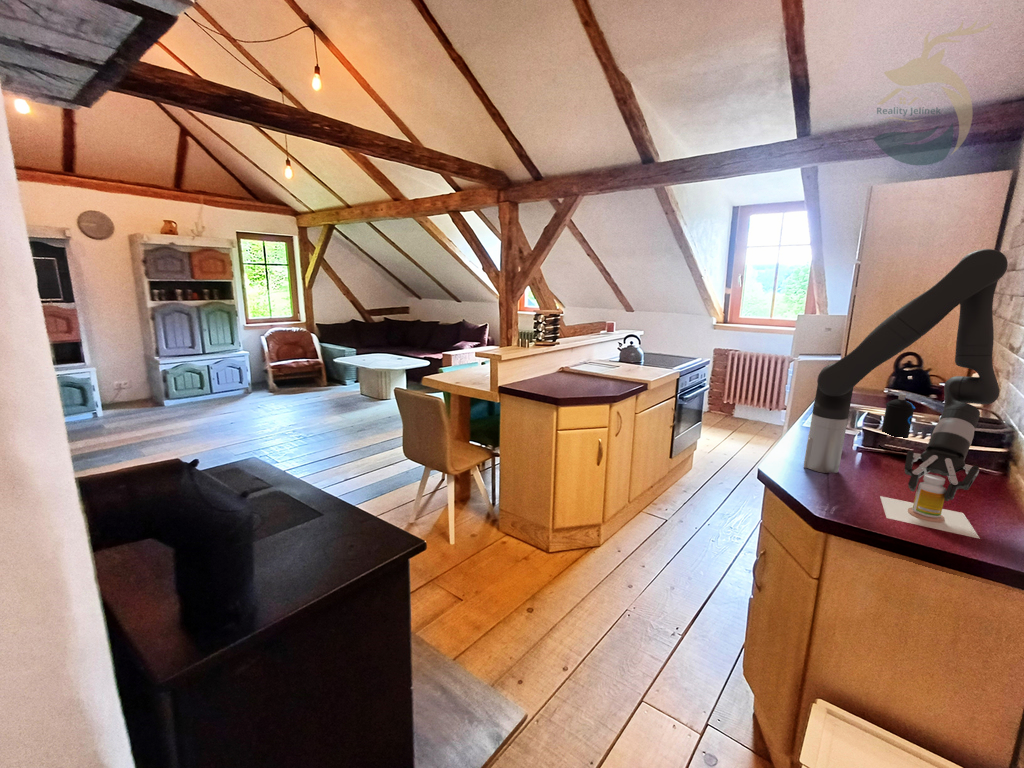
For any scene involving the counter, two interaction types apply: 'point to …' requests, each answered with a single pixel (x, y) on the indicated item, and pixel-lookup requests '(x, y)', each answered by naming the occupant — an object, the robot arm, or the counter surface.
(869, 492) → the counter surface
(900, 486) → the counter surface
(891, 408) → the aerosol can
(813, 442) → the robot arm
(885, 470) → the counter surface
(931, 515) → the supplement bottle
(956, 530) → the mat
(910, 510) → the coaster
